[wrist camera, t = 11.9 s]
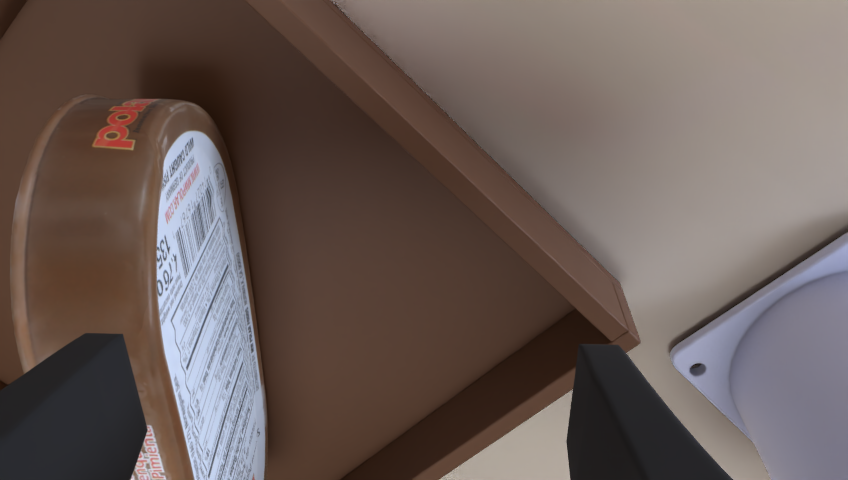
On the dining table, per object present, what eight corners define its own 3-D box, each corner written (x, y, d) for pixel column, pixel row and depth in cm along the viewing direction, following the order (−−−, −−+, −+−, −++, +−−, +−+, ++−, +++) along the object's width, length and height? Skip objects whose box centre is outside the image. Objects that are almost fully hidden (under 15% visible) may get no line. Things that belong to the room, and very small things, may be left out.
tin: (124, 52, 19) (-84, 189, 12) (242, 53, 19) (107, 192, 12) (208, 462, 27) (113, 703, 19) (294, 464, 26) (230, 708, 19)
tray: (621, 284, 23) (642, 343, 20) (260, 544, 29) (241, 613, 27) (132, -194, 17) (72, -198, 14) (-176, 269, 24) (-255, 323, 21)
